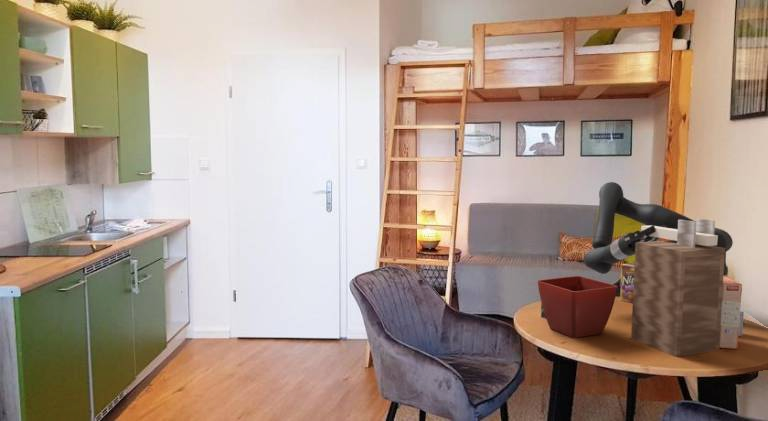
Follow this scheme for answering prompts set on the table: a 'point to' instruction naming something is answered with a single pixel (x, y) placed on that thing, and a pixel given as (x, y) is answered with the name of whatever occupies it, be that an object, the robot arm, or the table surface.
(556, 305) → the plant pot
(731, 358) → the table surface
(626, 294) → the candy box
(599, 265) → the robot arm
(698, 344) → the walnut shelf
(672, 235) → the cream box
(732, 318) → the cracker box
